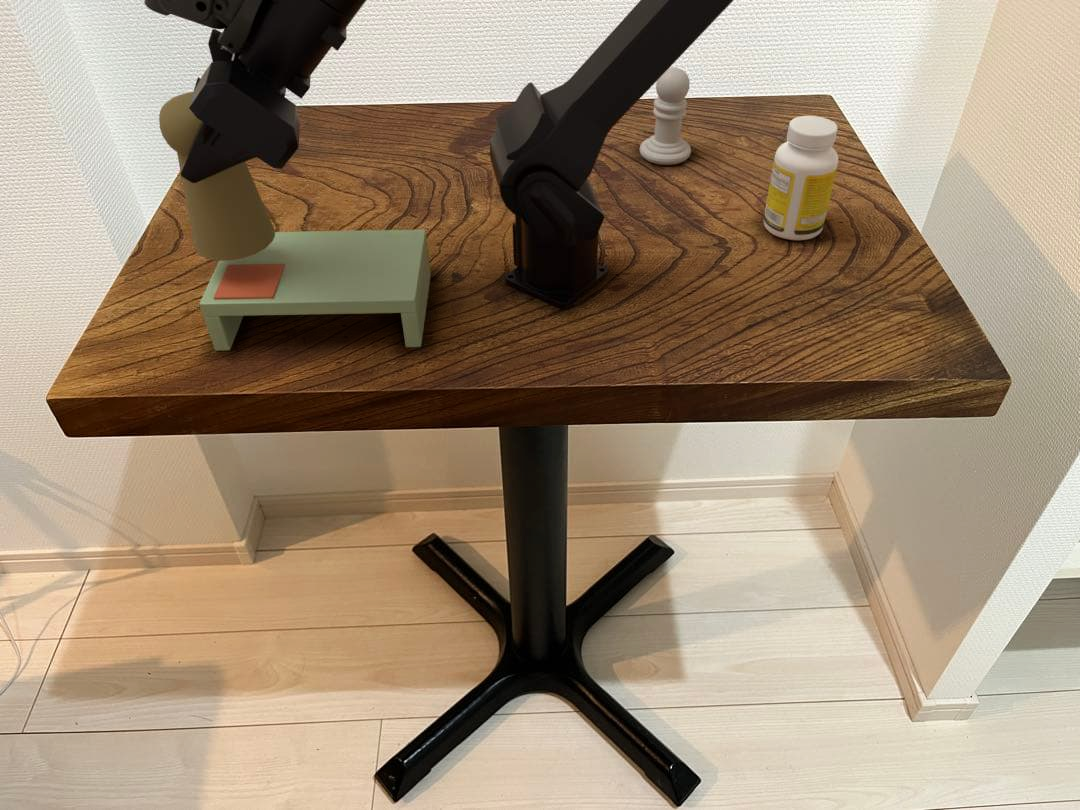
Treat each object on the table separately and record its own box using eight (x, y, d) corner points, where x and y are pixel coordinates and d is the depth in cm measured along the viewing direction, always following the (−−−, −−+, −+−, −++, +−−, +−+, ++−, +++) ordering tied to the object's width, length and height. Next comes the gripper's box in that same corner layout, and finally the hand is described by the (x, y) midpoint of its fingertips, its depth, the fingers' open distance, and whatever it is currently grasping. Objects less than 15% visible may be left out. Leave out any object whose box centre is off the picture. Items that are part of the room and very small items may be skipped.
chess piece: (696, 148, 91) (707, 63, 85) (681, 170, 87) (691, 83, 81) (649, 139, 93) (656, 55, 87) (631, 160, 89) (637, 74, 83)
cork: (291, 228, 67) (256, 89, 59) (239, 268, 63) (194, 124, 55) (231, 212, 69) (190, 75, 61) (176, 249, 65) (126, 108, 57)
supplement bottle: (827, 219, 80) (852, 118, 74) (815, 247, 77) (840, 144, 70) (770, 207, 82) (789, 107, 75) (755, 234, 78) (774, 132, 72)
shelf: (421, 347, 67) (414, 297, 64) (214, 351, 67) (197, 301, 64) (430, 274, 74) (425, 226, 71) (245, 277, 74) (231, 230, 71)
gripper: (216, -145, 57) (104, 39, 63) (179, -71, 44) (41, 154, 50) (356, -27, 63) (241, 130, 70) (361, 70, 50) (218, 254, 56)
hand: (191, 161), depth 61 cm, fingers closed on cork, 5 cm apart
